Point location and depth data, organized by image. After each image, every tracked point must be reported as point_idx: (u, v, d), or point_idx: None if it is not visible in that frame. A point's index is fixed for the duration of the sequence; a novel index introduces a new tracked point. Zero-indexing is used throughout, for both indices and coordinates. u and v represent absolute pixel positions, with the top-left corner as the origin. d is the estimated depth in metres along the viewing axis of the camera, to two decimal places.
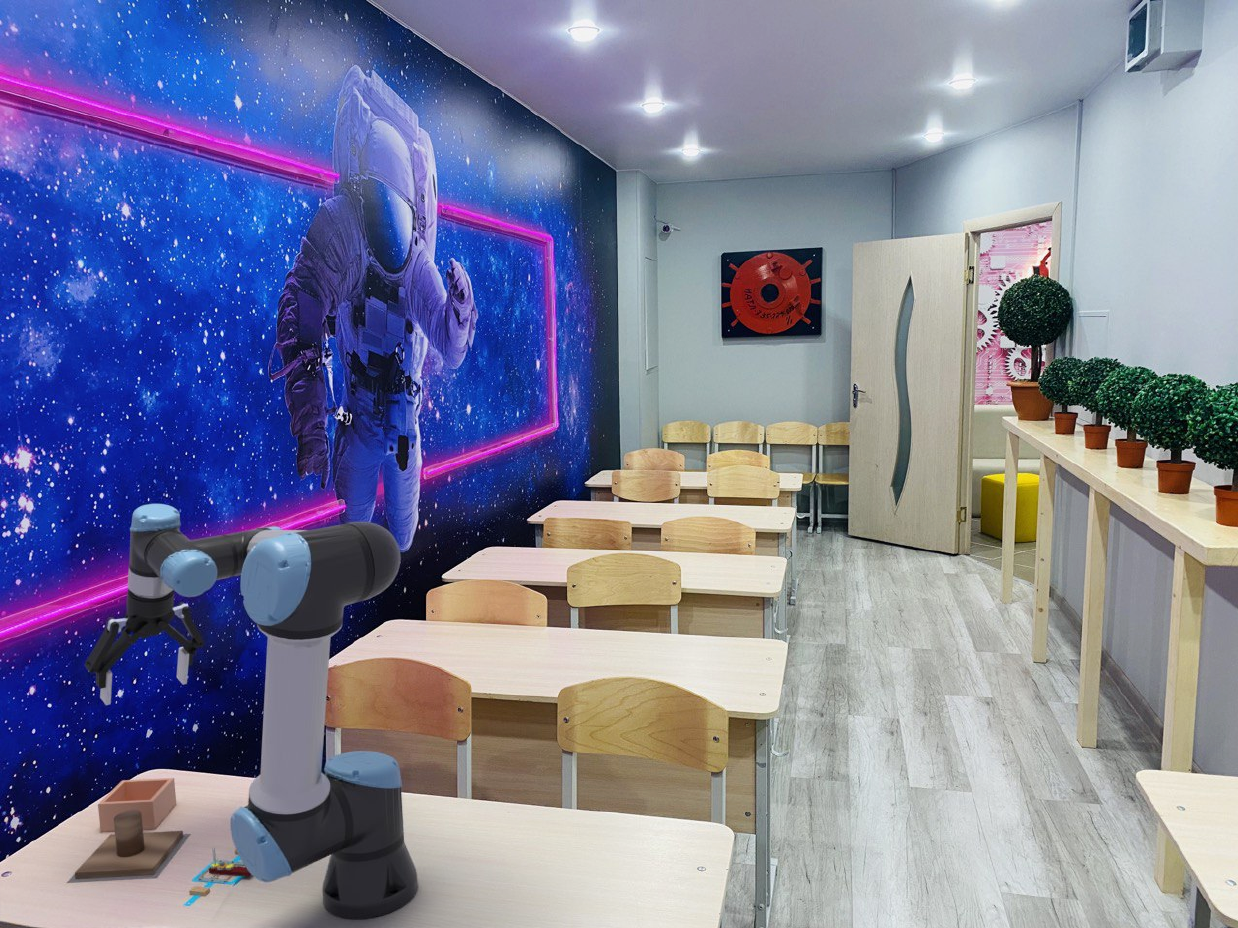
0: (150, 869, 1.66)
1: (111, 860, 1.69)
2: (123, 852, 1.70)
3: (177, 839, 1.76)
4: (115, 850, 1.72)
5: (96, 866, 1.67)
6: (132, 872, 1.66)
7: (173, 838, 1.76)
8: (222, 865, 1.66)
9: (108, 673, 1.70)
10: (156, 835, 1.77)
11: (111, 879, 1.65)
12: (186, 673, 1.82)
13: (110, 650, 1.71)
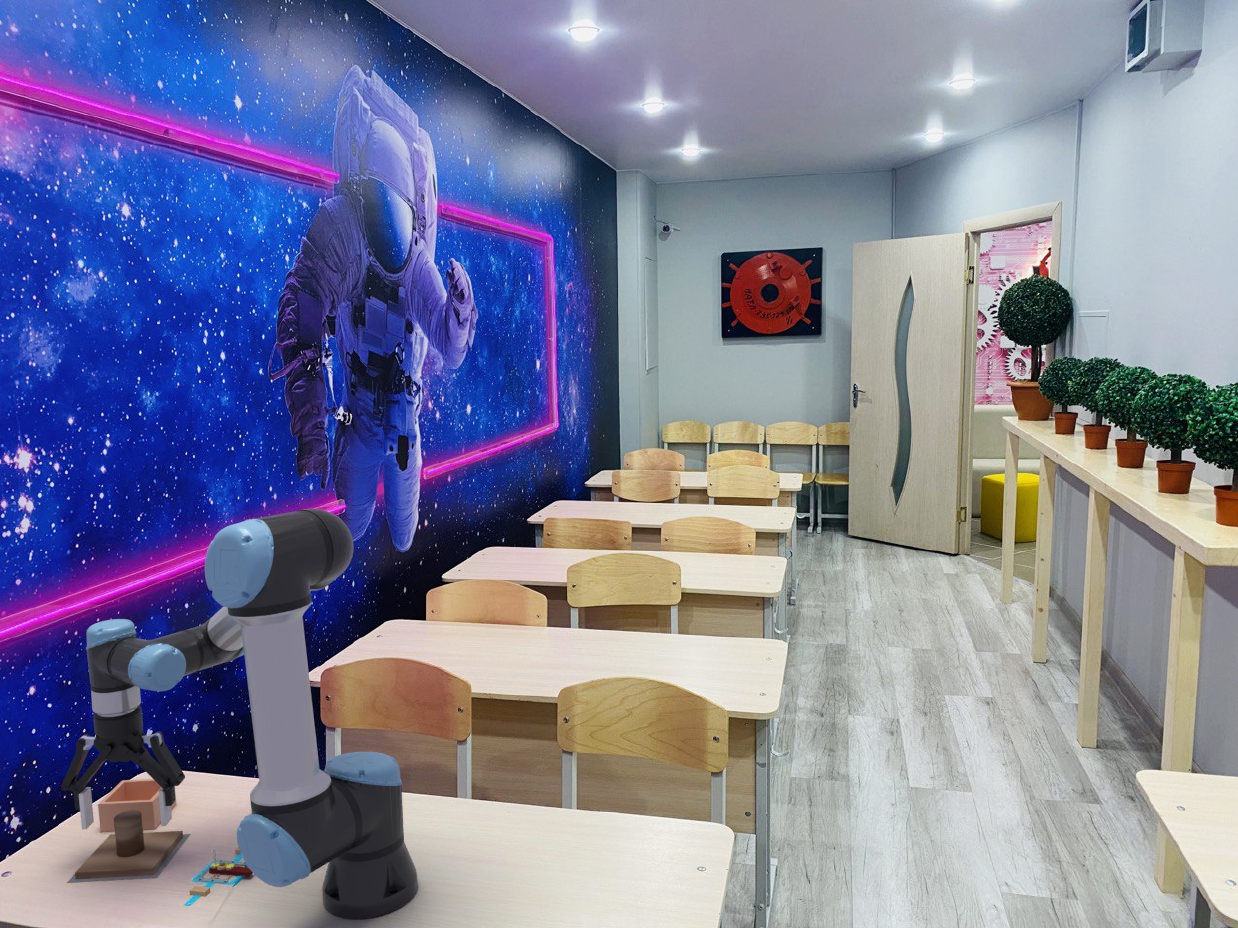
0: (150, 869, 1.66)
1: (111, 860, 1.69)
2: (123, 852, 1.70)
3: (177, 839, 1.76)
4: (115, 850, 1.72)
5: (96, 866, 1.67)
6: (132, 872, 1.66)
7: (173, 838, 1.76)
8: (222, 865, 1.66)
9: (80, 793, 1.69)
10: (156, 835, 1.77)
11: (111, 879, 1.65)
12: (163, 813, 1.70)
13: None
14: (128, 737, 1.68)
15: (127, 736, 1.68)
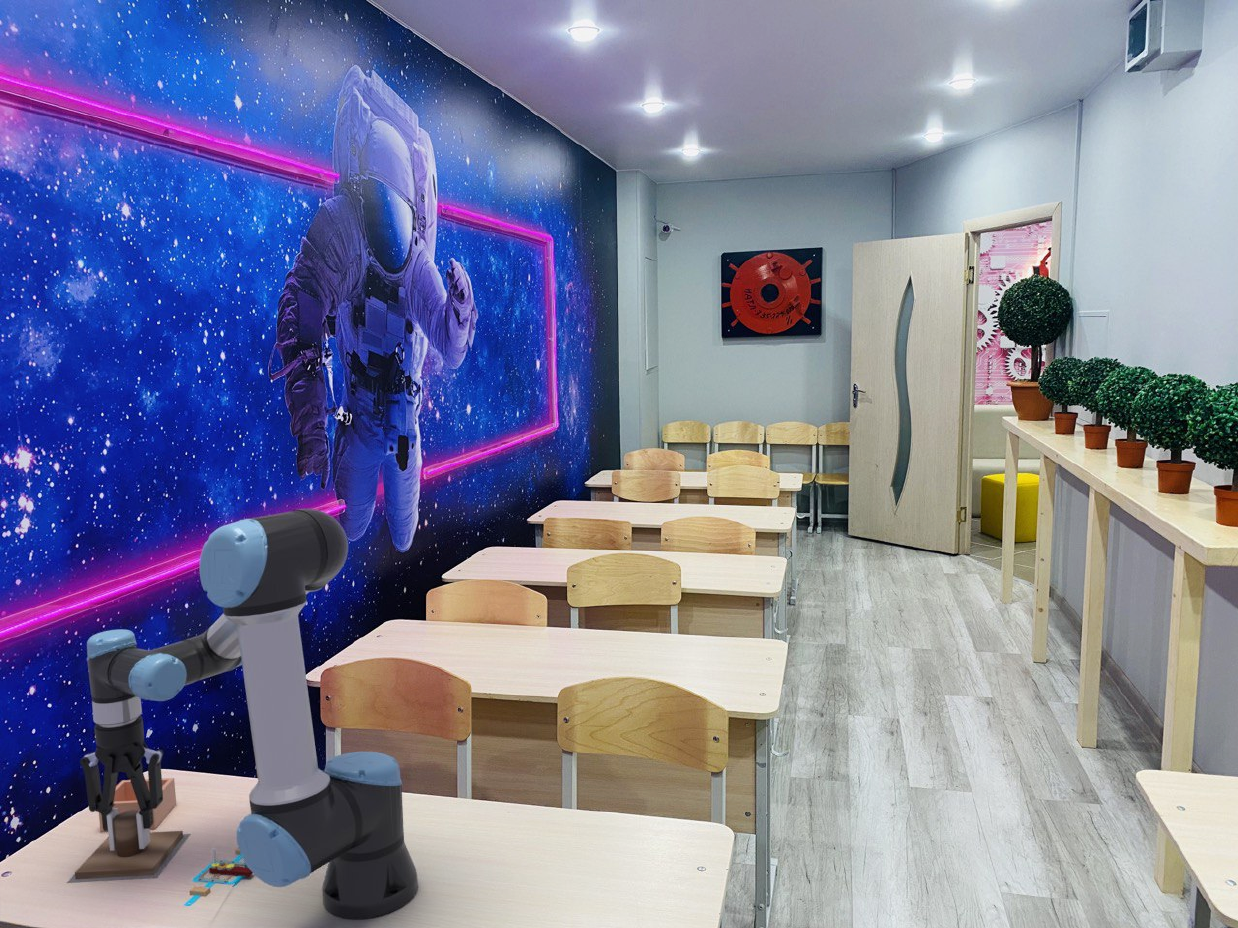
0: (150, 869, 1.66)
1: (111, 860, 1.69)
2: (123, 852, 1.70)
3: (177, 839, 1.76)
4: (115, 850, 1.72)
5: (96, 866, 1.67)
6: (132, 872, 1.66)
7: (173, 838, 1.76)
8: (222, 865, 1.66)
9: (108, 815, 1.70)
10: (156, 835, 1.77)
11: (111, 879, 1.65)
12: (141, 836, 1.70)
13: None
14: (132, 745, 1.69)
15: (132, 744, 1.69)
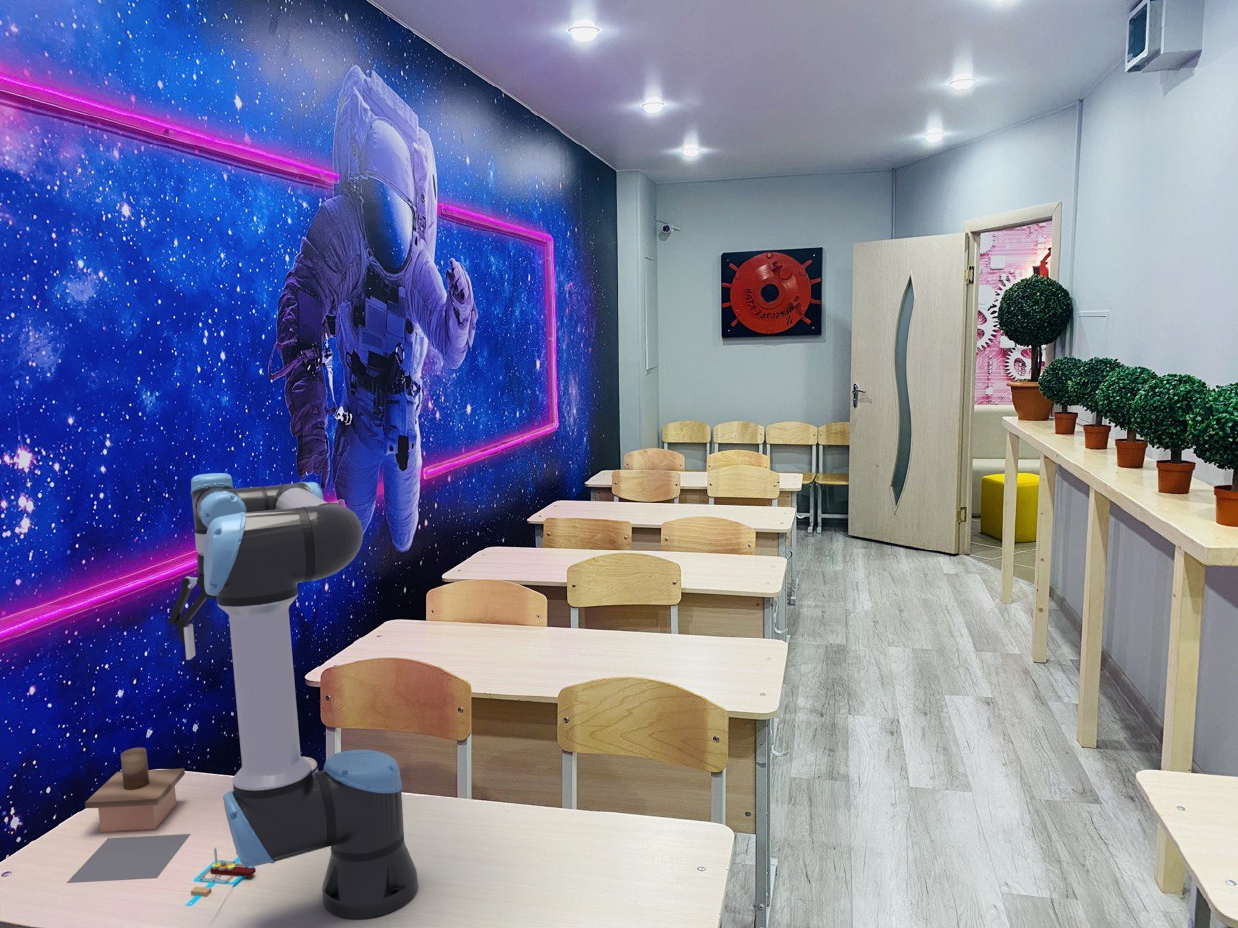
0: (154, 799, 1.80)
1: (118, 792, 1.83)
2: (129, 785, 1.84)
3: (179, 775, 1.90)
4: (122, 784, 1.86)
5: (105, 797, 1.81)
6: (138, 802, 1.80)
7: (175, 774, 1.90)
8: (223, 865, 1.66)
9: (185, 627, 1.92)
10: (160, 772, 1.91)
11: (111, 879, 1.65)
12: None
13: None
14: None
15: None
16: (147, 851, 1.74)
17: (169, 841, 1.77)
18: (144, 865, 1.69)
